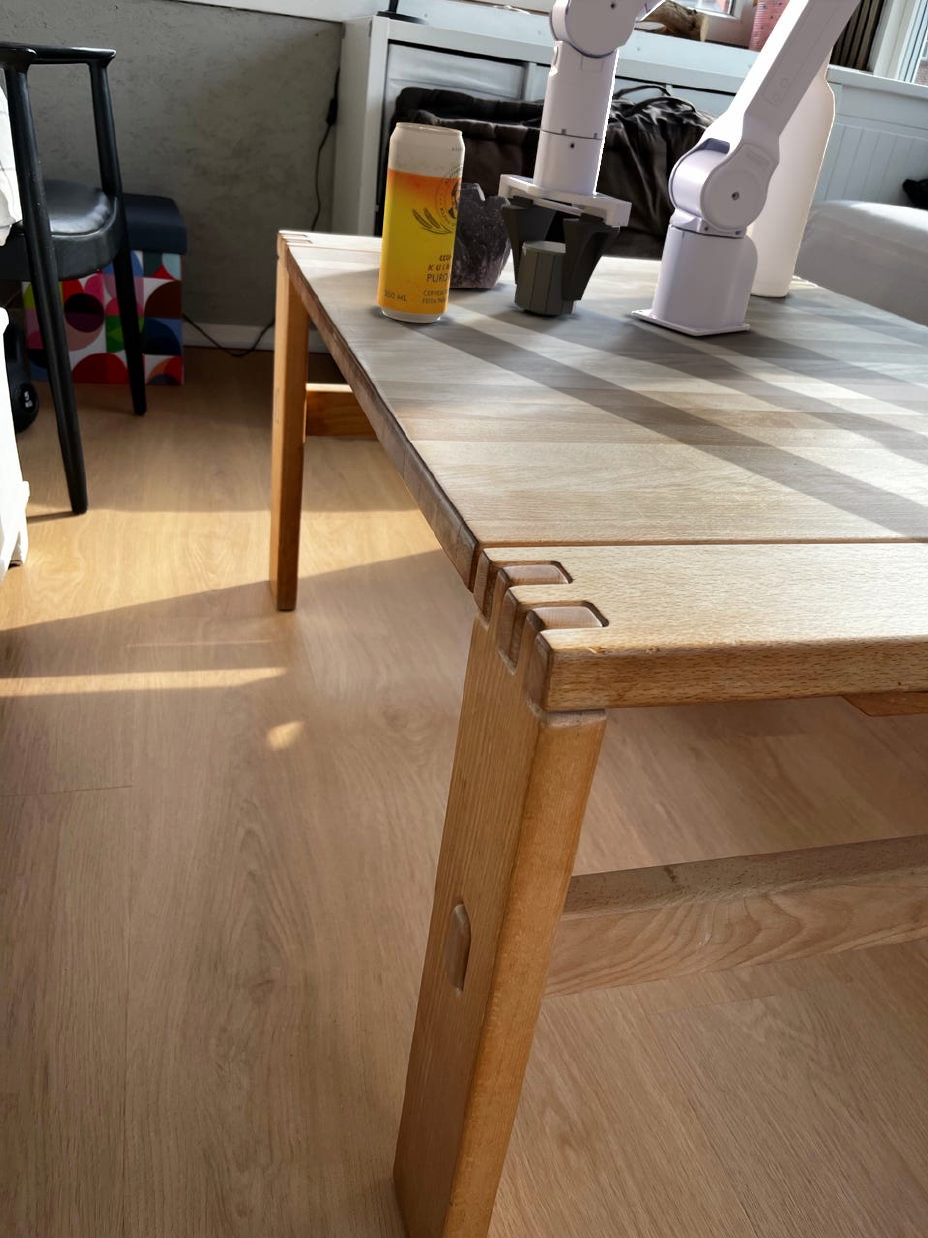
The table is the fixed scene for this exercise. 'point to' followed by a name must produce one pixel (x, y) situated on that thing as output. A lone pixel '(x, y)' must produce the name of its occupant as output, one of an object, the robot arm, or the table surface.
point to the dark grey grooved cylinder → (542, 278)
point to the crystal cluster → (479, 240)
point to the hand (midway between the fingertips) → (547, 291)
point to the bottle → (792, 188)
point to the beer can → (420, 221)
